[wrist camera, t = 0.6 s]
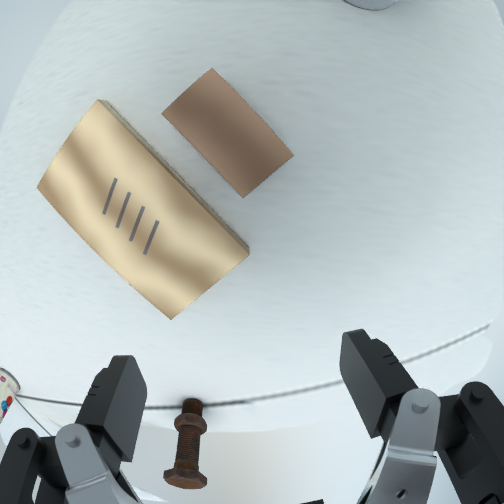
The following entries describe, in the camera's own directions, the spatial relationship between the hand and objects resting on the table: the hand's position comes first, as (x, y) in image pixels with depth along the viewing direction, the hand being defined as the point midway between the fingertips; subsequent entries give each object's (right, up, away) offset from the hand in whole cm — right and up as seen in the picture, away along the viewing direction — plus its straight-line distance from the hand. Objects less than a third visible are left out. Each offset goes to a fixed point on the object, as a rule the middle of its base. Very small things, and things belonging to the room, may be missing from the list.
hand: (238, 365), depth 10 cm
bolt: (-9, -20, +31) cm, 38 cm away
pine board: (-12, +8, +18) cm, 23 cm away
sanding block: (-2, +16, +16) cm, 22 cm away
